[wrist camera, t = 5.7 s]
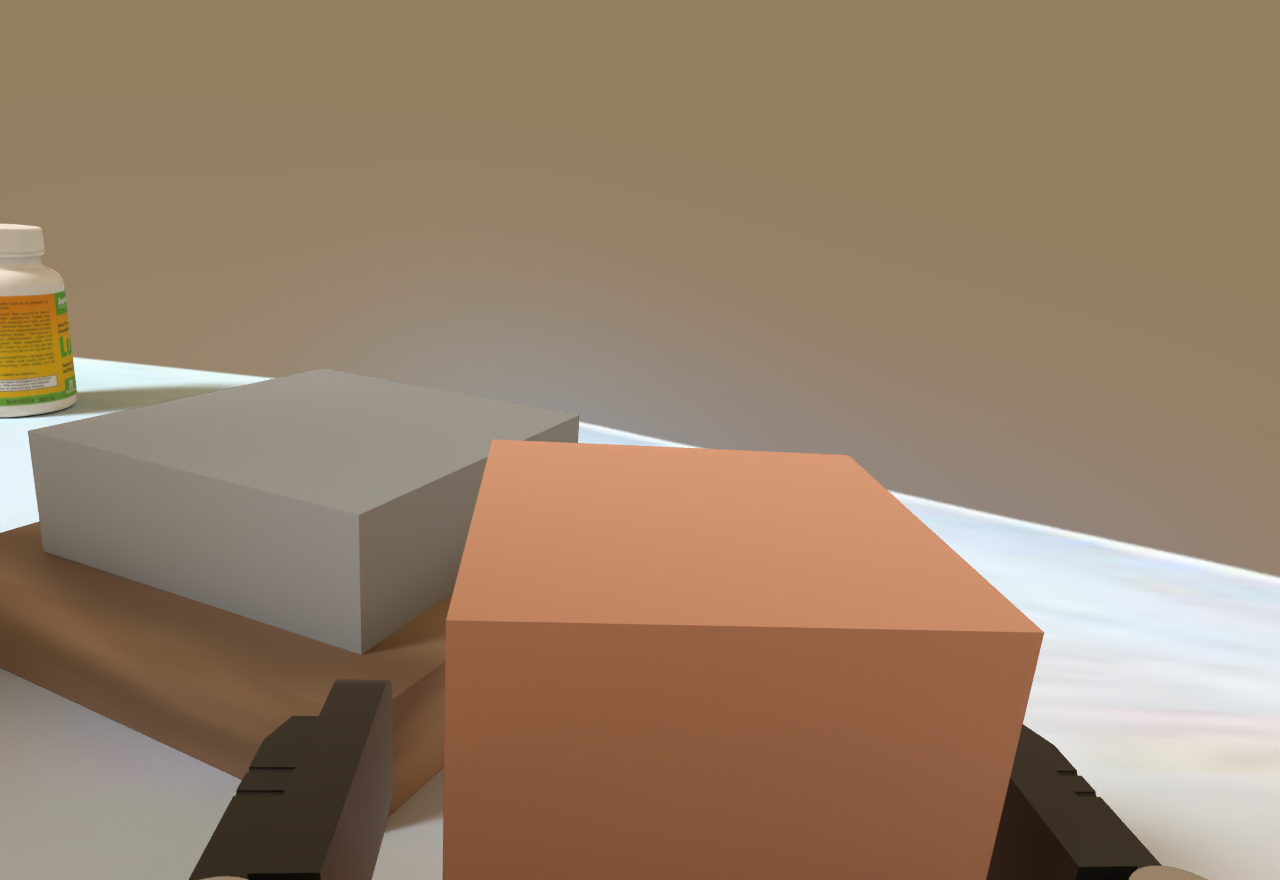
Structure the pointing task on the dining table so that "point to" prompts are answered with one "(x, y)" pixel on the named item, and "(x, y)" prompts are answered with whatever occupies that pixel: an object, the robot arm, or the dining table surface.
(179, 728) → the walnut base block
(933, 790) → the terracotta block
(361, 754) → the robot arm
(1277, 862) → the dining table surface
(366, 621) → the slate top block
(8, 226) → the supplement bottle
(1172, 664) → the dining table surface
